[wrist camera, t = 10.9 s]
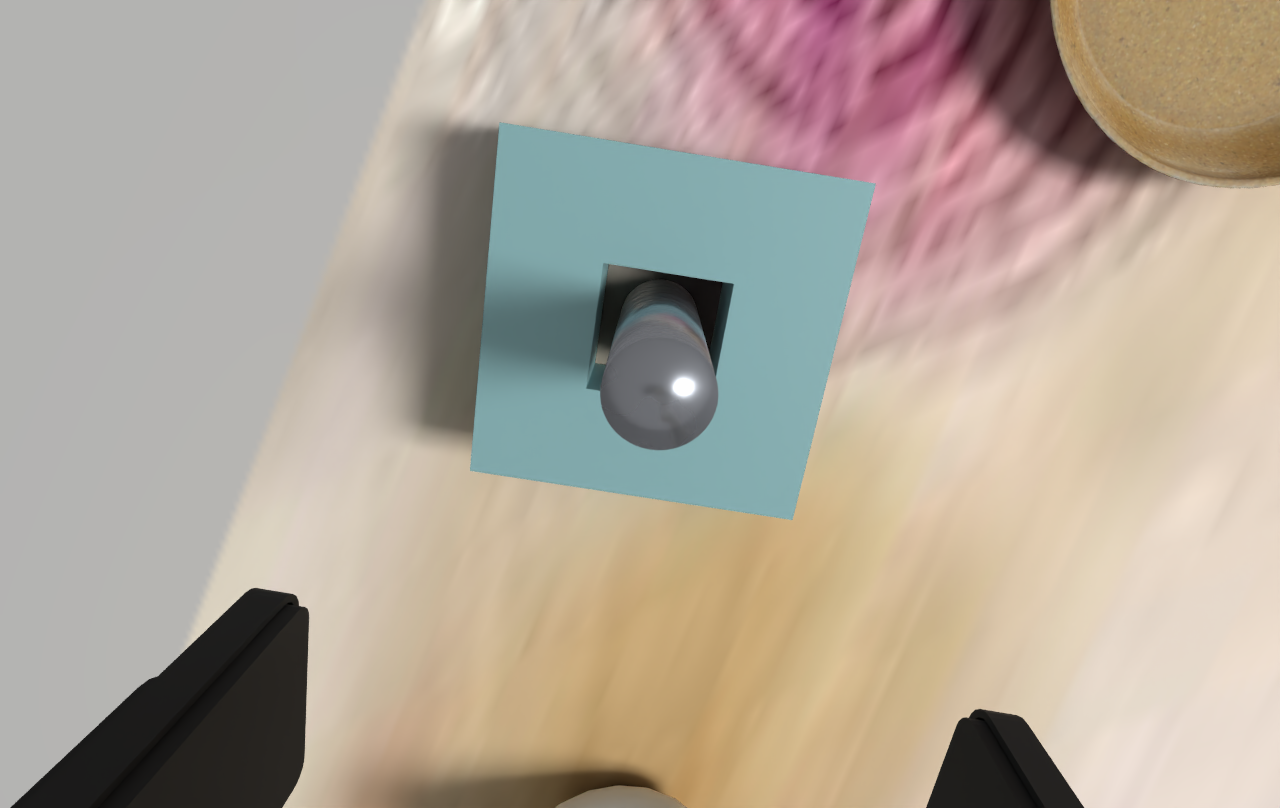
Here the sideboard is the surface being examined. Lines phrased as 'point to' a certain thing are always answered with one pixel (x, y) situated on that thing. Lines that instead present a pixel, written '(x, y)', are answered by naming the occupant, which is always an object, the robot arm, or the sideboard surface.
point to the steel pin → (659, 369)
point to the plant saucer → (1180, 83)
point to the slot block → (676, 244)
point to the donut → (622, 798)
